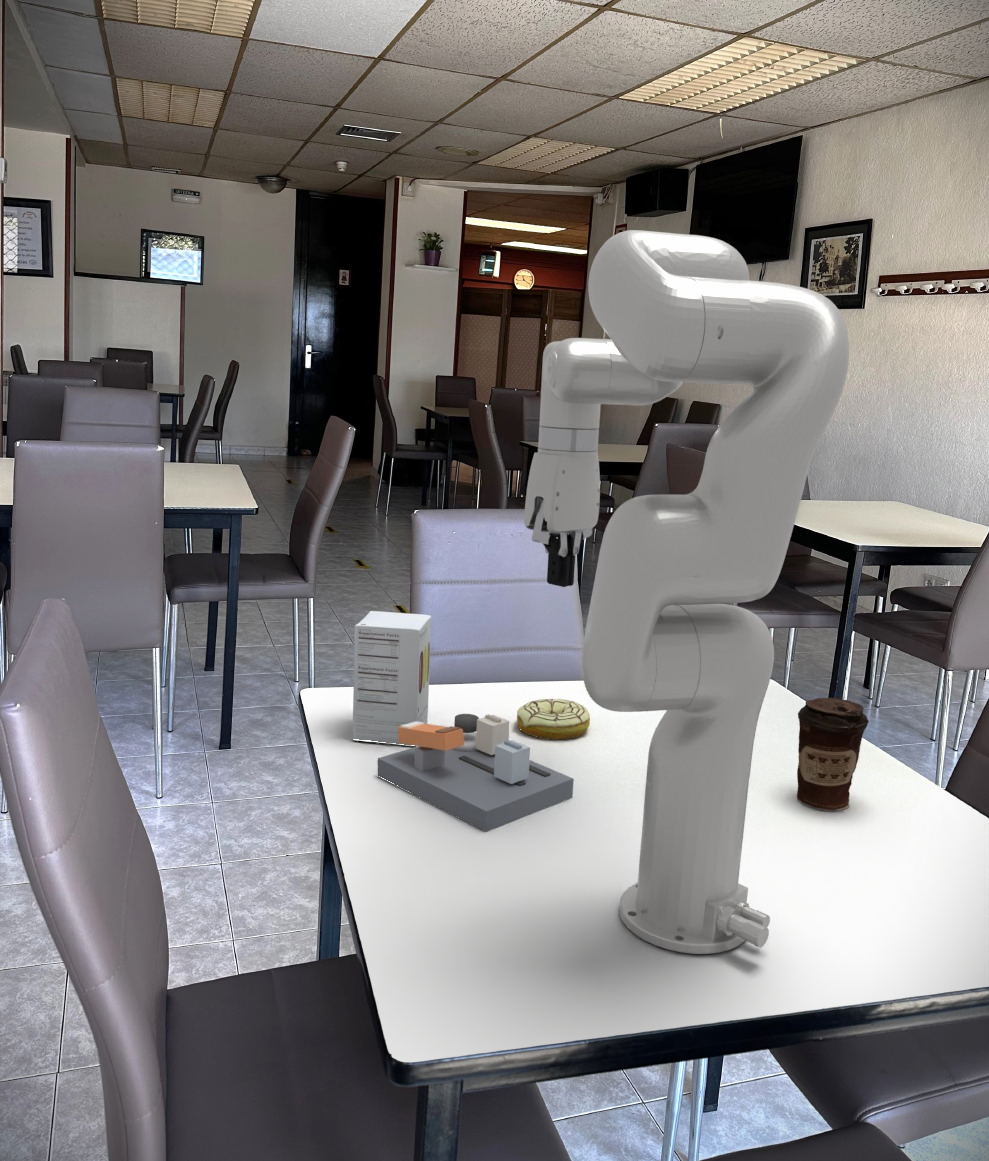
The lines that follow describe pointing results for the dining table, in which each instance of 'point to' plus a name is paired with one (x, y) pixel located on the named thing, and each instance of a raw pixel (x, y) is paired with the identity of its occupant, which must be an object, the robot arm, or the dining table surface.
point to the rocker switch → (431, 736)
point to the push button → (466, 722)
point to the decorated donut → (553, 718)
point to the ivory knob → (491, 733)
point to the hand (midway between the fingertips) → (560, 584)
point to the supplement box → (390, 674)
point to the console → (473, 783)
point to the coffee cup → (828, 751)
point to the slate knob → (511, 761)
